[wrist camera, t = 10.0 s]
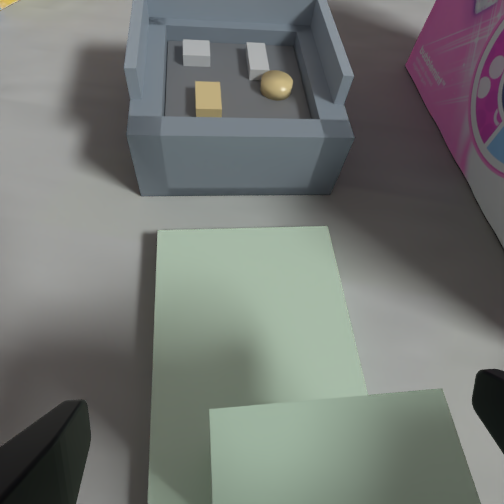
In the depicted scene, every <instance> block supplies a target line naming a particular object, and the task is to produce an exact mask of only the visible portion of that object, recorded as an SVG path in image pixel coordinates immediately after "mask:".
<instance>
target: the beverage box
mask: <svg viewBox="0 0 504 504" xmlns="http://www.w3.org/2000/svg"><path fill="white" fill-rule="evenodd" d="M17 1H19V0H0V10H2V9H4V8H6V7H8V6H10V5H12V4H14V3H15V2H17Z"/></svg>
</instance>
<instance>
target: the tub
mask: <svg viewBox="0 0 504 504" xmlns="http://www.w3.org/2000/svg"><path fill="white" fill-rule="evenodd" d="M124 71H125V76H126V81H127V86H128V90H129V95H130V106H129V115H128V124H127V133H126V136H127V140H128V144H129V148H130V152H131V156H132V161H133V165H134V169H135V173H136V177H137V181H138V185H139V189H140V193H141V196H207V195H330V194H331V192H332V189H333V187H334V185H335V182H336V180H337V178H338V176H339V173H340V171H341V169H342V166H343V164H344V162H345V159H346V157H347V155H348V152H349V150H350V148H351V145H352V143H353V141H354V139H355V137H354V134H353V131H352V128H351V125H350V122H349V119H348V115H347V112H346V109H345V106H344V103H345V100H346V97H347V94H348V92H349V89H350V86H351V83H352V81H353V78H354V74H353V71H352V69H351V66H350V63H349V60H348V58H347V55H346V52H345V49H344V47H343V44H342V41H341V38H340V36H339V33H338V30H337V27H336V25H335V22H334V19H333V16H332V14H331V11H330V8H329V5H328V3H327V0H133V3H132V11H131V18H130V25H129V33H128V40H127V48H126V55H125V63H124Z"/></svg>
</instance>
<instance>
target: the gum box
mask: <svg viewBox="0 0 504 504" xmlns="http://www.w3.org/2000/svg"><path fill="white" fill-rule="evenodd" d="M405 66H406V68H407V70H408V72H409V74H410V75H411V77H412V79H413V81H414V83H415V85H416V87H417V88H418V90H419V93H420V95H421V97H422V99H423V101H424V103H425V105H426V107H427V109H428V111H429V112H430V114H431V116H432V117H433V118H434V120H435V122H436V124H437V126H438V128H439V130H440V131H441V133H442V135H443V138H444V140H445V142H446V144H447V146H448V148H449V150H450V152H451V154H452V156H453V157H454V159H455V161H456V162H457V164H458V166H459V167H460V169H461V170H462V172H463V174H464V176H465V178H466V179H467V181H468V183H469V185H470V187H471V189H472V192H473V194H474V196H475V198H476V200H477V202H478V204H479V206H480V208H481V210H482V212H483V213H484V215H485V217H486V219H487V220H488V222H489V224H490V225H491V227H492V228H493V230H494V231H495V233H496V235H497V237H498V239H499V241H500V242H501V244H502V246H503V248H504V0H436V2H435V4H434V6H433V8H432V10H431V12H430V14H429V16H428V18H427V20H426V22H425V24H424V26H423V29H422V31H421V33H420V35H419V37H418V39H417V41H416V43H415V45H414V48H413V50H412V52H411V54H410V56H409V59H408V61H407V63H406V65H405Z"/></svg>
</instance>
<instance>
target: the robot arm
mask: <svg viewBox="0 0 504 504" xmlns="http://www.w3.org/2000/svg"><path fill="white" fill-rule="evenodd" d="M472 405H473V408H474V410H475V412H476V413H477V415H478V416H479V418H480V419H481V421H482V422H483V424H484V425H485V427H486V428H487V430H488V431H489V433H490V434H491V436H492V437H493V439H494V440H495V442H496V443H497V445H498V446H499V448H500V449H501V451H502V452H503V454H504V371H502V370H499V369H485V370H480V371H478V373H477V374H476V378H475V384H474V390H473V395H472ZM90 441H91V430H90V422H89V413H88V406H87V403H86V401H85V400H68V401H64V402H62V403H61V404H60V405H58V406H57V407H55V408H54V409H53V410H51V411H50V412H48V413H47V414H46V415H44V416H43V417H41V418H40V419H39V420H37V421H36V422H35V423H33V424H32V425H30V426H29V427H28V428H26V429H25V430H23V431H22V432H21V433H19V434H18V435H16V436H15V437H14V438H12V439H11V440H10V441H8V442H7V443H5V444H4V445H3V446H1V447H0V504H76V501H77V497H78V493H79V489H80V484H81V480H82V476H83V472H84V468H85V463H86V459H87V455H88V451H89V447H90Z"/></svg>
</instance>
